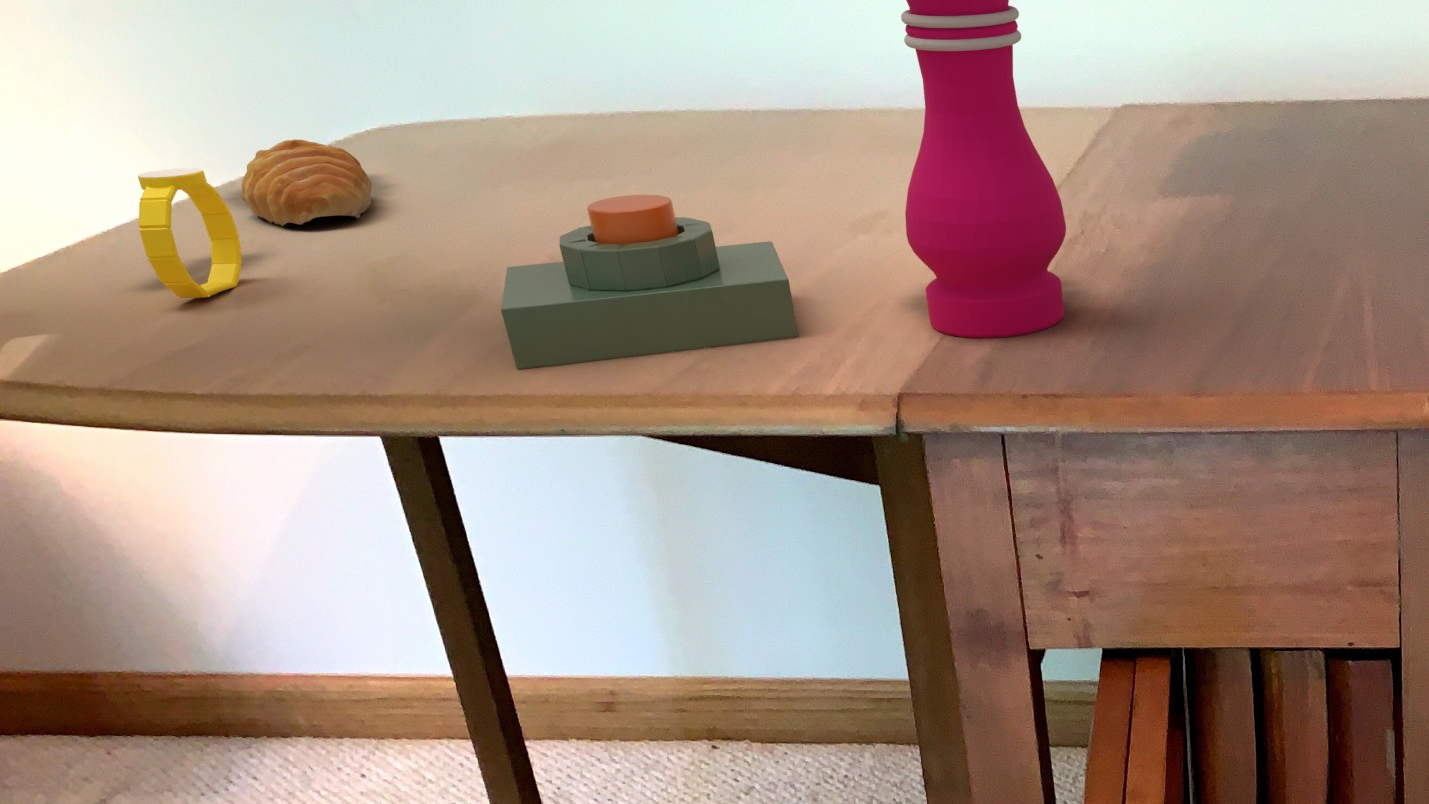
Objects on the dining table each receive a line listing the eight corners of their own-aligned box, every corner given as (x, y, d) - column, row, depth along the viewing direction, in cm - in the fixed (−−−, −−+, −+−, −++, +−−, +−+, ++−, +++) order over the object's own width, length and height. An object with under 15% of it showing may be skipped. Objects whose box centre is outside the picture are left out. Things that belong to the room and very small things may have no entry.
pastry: (395, 220, 101) (375, 153, 99) (267, 238, 97) (243, 169, 95) (364, 194, 107) (344, 131, 105) (243, 211, 104) (220, 145, 102)
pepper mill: (913, 308, 83) (843, -162, 72) (1061, 294, 84) (1014, -166, 74) (927, 349, 77) (854, -157, 66) (1087, 332, 78) (1039, -161, 68)
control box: (516, 370, 75) (488, 266, 72) (521, 324, 81) (495, 227, 79) (799, 337, 78) (780, 238, 76) (782, 295, 85) (765, 203, 83)
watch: (208, 308, 84) (164, 184, 81) (150, 310, 84) (104, 185, 81) (268, 278, 89) (227, 159, 86) (213, 279, 89) (171, 161, 86)
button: (596, 255, 76) (586, 214, 75) (595, 237, 79) (586, 198, 78) (681, 246, 77) (673, 207, 76) (677, 230, 80) (669, 191, 79)
